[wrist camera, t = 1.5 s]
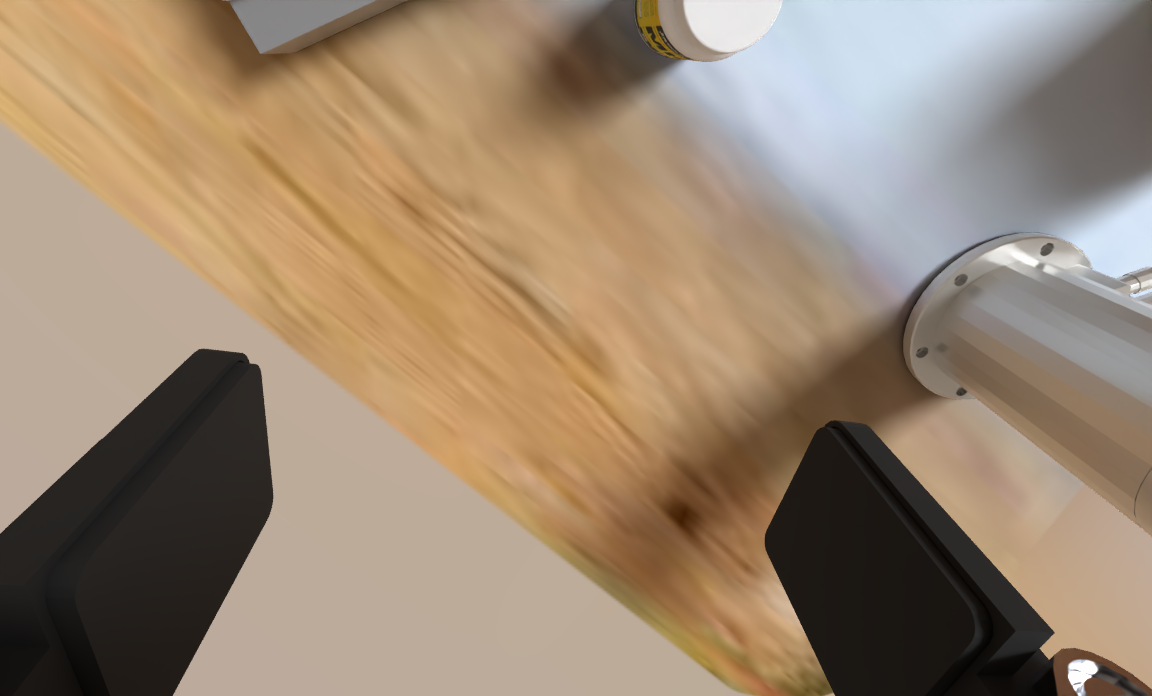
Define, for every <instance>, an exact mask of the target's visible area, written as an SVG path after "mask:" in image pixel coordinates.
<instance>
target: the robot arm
mask: <svg viewBox="0 0 1152 696" xmlns="http://www.w3.org/2000/svg"><path fill="white" fill-rule="evenodd" d="M1150 288H1152V267H1145V268H1142V269H1139V270H1136V271H1134V272H1131V273H1128V274H1125V275H1123V276H1122V277H1119V278H1117V279H1115V278H1113V277H1109V276H1107V275H1104V274H1102V273H1099V272H1097V271H1094V270H1093V269H1092V266H1091V263H1090V261H1089V259H1088V258H1087V257H1086V255H1085V254H1084V253H1083V251H1082V250H1080V249H1079V248H1078V247H1076V246H1075V245H1073V244H1072V243H1070V242H1068V241H1065V240H1063V239H1060V238H1058V237H1055V236H1051V235H1047V234H1042V233H1018V234H1013V235H1008V236H1003V237H1000V238H997V239H994V240H992V241H989V242H986V243H984V244H982V245H980V246H978V247H976V248H974V249H972V250H971V251H969V252H967V253H965V254H964V255H962V256H961V257H960V258H958V259H957V260H955V261H954V262H953V263H951V264H950V265H949V266H948V267H946V268H945V269H944V270H943V271H942V272H941V273H940V274H939V275H938V276H937V277H936V278H935V279H934V280H933V281H932V282H931V283H930V285H929V286H928V287H927V288H926V290H925V291H924V292H923V293H922V295H921V296H920V298H919V300H918V301H917V303H916V305H915V306H914V308H913V309H912V312H911V314H910V317H909V319H908V322H907V324H906V328H905V333H904V338H903V354H904V358H905V361H906V365H907V367H908V369H909V370H910V372H911V374H912V375H913V376H914V377H915V378H916V379H917V380H918V381H919V382H920V383H921V384H922V385H923V386H924V387H926V388H927V389H929V390H930V391H932V392H933V393H935V394H938V395H940V396H943V397H946V398H951V399H959V400H961V399H978V400H979V401H980V402H981V403H983V404H984V405H985V406H987V407H988V408H989V409H990V410H992V411H993V412H994V413H995V414H997V415H998V416H999V417H1001V418H1002V419H1003V420H1004V421H1006V422H1007V423H1008V424H1009V425H1011V426H1012V427H1013V428H1014V429H1016V430H1017V431H1018V432H1020V433H1021V434H1022V435H1023V436H1025V437H1026V438H1027V439H1028V440H1030V441H1031V442H1032V443H1034V444H1035V445H1036V446H1037V447H1039V448H1040V449H1041V450H1042V451H1044V452H1045V453H1046V454H1048V455H1049V456H1050V457H1051V458H1053V459H1054V460H1055V461H1056V462H1058V463H1059V464H1060V465H1062V466H1063V467H1064V468H1065V469H1067V470H1068V471H1069V472H1070V473H1072V474H1073V475H1074V476H1076V477H1077V478H1078V479H1079V480H1081V481H1082V482H1083V483H1084V484H1086V485H1087V486H1088V487H1090V488H1091V489H1092V490H1093V491H1095V492H1096V493H1097V494H1098V495H1100V496H1101V497H1102V498H1104V499H1105V500H1106V501H1107V502H1109V503H1110V504H1111V505H1112V506H1114V507H1115V508H1116V509H1118V510H1119V511H1120V512H1121V513H1123V514H1124V515H1125V516H1127V517H1128V518H1129V519H1130V520H1131V521H1133V522H1134V523H1135V524H1137V525H1138V526H1139V527H1140V528H1142V529H1143V530H1144V531H1145V532H1147V533H1148V534H1149V535H1151V536H1152V292H1150V293H1147V294H1144V295H1142V296H1139V297H1136V298H1133V297H1131V296H1130V294H1136V293H1139V292H1142V291H1145V290H1147V289H1150ZM263 397H264V396H263V386H262V376H261V370H260V368H259V366H258V365H256V364H249V360H248V358H247V356H246V355H245V354H243V353H237V352H228V351H219V350H211V349H199V350H198V351H196V352H195V353H194V354H192V355H191V356H190V357H189V358H188V359H187V360H186V361H185V362H184V363H183V364H182V365H181V366H180V367H179V368H177V369H176V370H175V371H174V372H173V373H172V374H171V375H170V376H169V377H168V378H167V379H166V380H165V381H164V382H163V383H161V384H160V386H158V387H157V388H156V389H155V390H154V391H153V392H152V393H151V394H150V395H149V396H148V397H147V398H146V399H144V400H143V401H142V402H141V403H140V404H139V405H138V406H137V407H136V408H135V409H134V410H133V411H132V412H131V413H130V414H129V415H127V416H126V417H125V418H124V419H123V420H122V421H121V422H120V423H119V424H118V425H117V426H116V427H115V428H114V429H113V430H112V431H111V432H109V433H108V434H107V435H106V436H105V437H104V438H103V439H101V440H100V441H99V442H98V443H97V444H96V445H94V446H93V447H92V448H91V449H90V450H89V451H88V452H87V453H86V454H85V455H84V456H83V457H82V458H81V459H80V460H78V462H76V463H75V464H74V465H73V466H72V467H71V468H70V469H69V470H68V471H67V472H66V473H65V474H63V475H62V476H61V477H60V478H59V479H58V480H57V481H56V482H55V483H54V484H53V485H52V486H51V487H50V488H49V489H48V490H46V491H45V492H44V493H43V494H42V495H41V496H40V497H39V498H38V499H37V500H36V501H35V502H34V503H33V504H31V506H30V507H28V508H27V509H26V510H25V511H24V512H23V513H22V514H21V515H20V516H19V517H18V518H17V519H15V520H14V521H13V522H12V523H11V524H10V525H9V526H8V527H7V528H6V529H5V530H4V531H3V532H2V533H1V534H0V696H173V694H174V692H175V690H176V688H177V687H178V684H179V683H180V681H181V679H182V677H183V675H184V674H185V672H186V670H187V668H188V666H189V664H190V662H191V661H192V659H193V657H194V655H195V653H196V651H197V649H198V648H199V646H200V644H201V642H202V640H203V638H204V636H205V635H206V633H207V631H208V629H209V627H210V625H211V623H212V621H213V620H214V618H215V616H216V614H217V612H218V610H219V608H220V607H221V605H222V603H223V601H224V599H225V597H226V596H227V594H228V592H229V590H230V588H231V586H232V584H233V583H234V581H235V579H236V577H237V575H238V573H239V571H240V569H241V568H242V566H243V564H244V562H245V560H246V558H247V557H248V554H249V553H250V551H251V549H252V547H253V545H254V543H255V542H256V540H257V538H258V536H259V534H260V532H261V530H262V529H263V527H264V525H265V523H266V521H267V519H268V517H269V515H270V512H271V508H272V503H273V487H272V478H271V467H270V457H269V447H268V436H267V426H266V416H265V406H264V398H263ZM765 548H766V551H767V554H768V556H769V558H770V560H771V562H772V564H773V567H774V569H775V571H776V573H777V575H778V577H779V579H780V581H781V583H782V585H783V587H784V590H785V592H786V594H787V596H788V598H789V600H790V602H791V604H792V606H793V608H794V610H795V613H796V615H797V617H798V619H799V621H800V623H801V625H802V627H803V629H804V631H805V634H806V636H807V638H808V640H809V642H810V644H811V646H812V648H813V650H814V652H815V654H816V657H817V659H818V661H819V663H820V665H821V667H822V669H823V671H824V673H825V675H826V677H827V680H828V682H829V684H830V686H831V688H832V690H833V692H834V694H835V696H1152V689H1151V688H1149V687H1148V686H1147V685H1145V684H1144V683H1143V682H1142V681H1140V680H1139V679H1138V678H1136V677H1135V676H1134V675H1133V674H1131V673H1129V672H1128V671H1126V670H1125V669H1123V668H1121V667H1120V666H1118V665H1116V664H1115V663H1113V662H1112V661H1109V660H1107V659H1105V658H1103V657H1101V656H1098V655H1096V654H1094V653H1092V652H1088V651H1084V650H1080V649H1076V648H1068V649H1061V650H1060V651H1059V652H1057V653H1056V654H1055V655H1054V656H1053V657H1052V658H1051V659H1050V660H1049V659H1048V658H1047V657H1046V656H1045V655H1044V653H1043V652H1042V651H1041V650H1040V649H1039V648H1040V647H1041V646H1042V645H1043V644H1044V643H1045V642H1046V641H1047V640H1048V639H1049V638H1050V637H1051V636H1052V635H1053V634H1054V631H1053V630H1052V629H1051V628H1050V627H1049V626H1048V625H1047V623H1046V622H1045V621H1044V620H1043V619H1042V618H1041V617H1040V616H1039V615H1038V613H1037V612H1036V611H1035V610H1034V609H1033V608H1032V607H1031V606H1030V605H1029V604H1028V602H1027V601H1026V600H1025V599H1024V598H1023V597H1022V596H1021V595H1020V593H1019V592H1018V591H1017V590H1016V589H1015V588H1014V587H1013V586H1012V585H1011V583H1010V582H1009V581H1008V580H1007V579H1006V578H1005V577H1004V576H1003V575H1002V573H1001V572H1000V571H999V570H998V569H997V568H996V567H995V566H994V565H993V563H992V562H991V561H990V560H989V559H988V558H987V557H986V556H985V555H984V554H983V552H982V551H981V550H980V549H979V548H978V547H977V546H976V545H975V544H974V542H973V541H972V540H971V539H970V538H969V537H968V536H967V535H966V534H965V532H964V531H963V530H962V529H961V528H960V527H959V526H958V525H957V524H956V522H955V521H954V520H953V519H952V518H951V517H950V516H949V515H948V514H947V512H946V511H945V510H944V509H943V508H942V507H941V506H940V505H939V504H938V502H937V501H936V500H935V499H934V498H933V497H932V496H931V495H930V494H929V492H928V491H927V490H926V489H925V488H924V487H923V486H922V485H921V484H920V483H919V481H918V480H917V479H916V478H915V477H914V476H913V475H912V474H911V473H910V471H909V470H908V469H907V468H906V467H905V466H904V465H903V464H902V463H901V461H900V460H899V459H898V458H897V457H896V456H895V455H894V454H893V453H892V451H891V450H890V449H889V448H888V447H887V446H886V445H885V444H884V443H883V441H882V440H881V439H880V438H879V437H878V436H877V435H876V434H875V433H874V431H873V430H872V429H871V428H870V427H868V426H867V425H865V424H861V423H853V422H844V421H835V420H834V421H830V422H829V423H827V424H826V425H825V427H823V428H820V429H818V430H817V432H816V433H815V435H814V437H813V439H812V441H811V443H810V445H809V447H808V449H807V451H806V453H805V455H804V457H803V459H802V461H801V463H800V465H799V467H798V469H797V471H796V473H795V475H794V477H793V479H792V481H791V483H790V485H789V487H788V489H787V491H786V493H785V495H784V497H783V499H782V501H781V503H780V505H779V507H778V509H777V511H776V513H775V515H774V517H773V519H772V521H771V523H770V525H769V527H768V529H767V531H766V534H765Z"/></svg>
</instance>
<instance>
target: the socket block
mask: <svg viewBox="0 0 1152 696" xmlns="http://www.w3.org/2000/svg"><path fill="white" fill-rule="evenodd" d="M224 1H229V2H230V4H231V6H232V7H233V9H234V11H235V12H236V14H237V16H238V17H239V19H240V21H241V22H242V24H243V26H244V27H245V29H246V31H247V32H248V34H249V36H250V38H251V39H252V41H253V43H254V44H255V46H256V48H257V49H258V51H259V53H260V54H279V53H295V52H297V51H300V50H302V49H304V48H306V47H308V46H310V45H312V44H315V43H317V42H319V41H321V40H323V39H325V38H328V37H330V36H332V35H334V34H336V33H338V32H341V31H343V30H345V29H347V28H349V27H351V26H354V25H356V24H358V23H360V22H362V21H364V20H367V19H369V18H371V17H373V16H375V15H377V14H380V13H382V12H384V11H386V10H388V9H390V8H393V7H395V6H397V5H399V4H401V3H403V2H406V1H408V0H224Z"/></svg>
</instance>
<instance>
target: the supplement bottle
mask: <svg viewBox="0 0 1152 696" xmlns="http://www.w3.org/2000/svg"><path fill="white" fill-rule="evenodd" d="M781 4H782V0H635V1H634V16H635V22H636V26H637V29H638V31H639V34H640V36H641V38H642V39H643V41H644V42H645V43H646V44H647V46H648V47H649V48H650V49H652V50H653V51H654V52H656V53H658V54H660V55H662V56H665V57H668V58H675V59H683V60H693V61H702V62H711V61H718V60H722V59H725V58H727V57H729V56H732V55H733V54H735V53H737V52H739V51H742V50H744V49H746V48H748V47H750V46H752V45H753V44H755V43H756V42H757V41H759V40H760V39H761V38H762V37H763V36H764V35H765V34H766V33H767V31H768V30H769V29H770V27H771V26H772V24H773V23H774V21H775V19H776V17H777V15H778V13H779V10H780V8H781Z"/></svg>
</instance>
